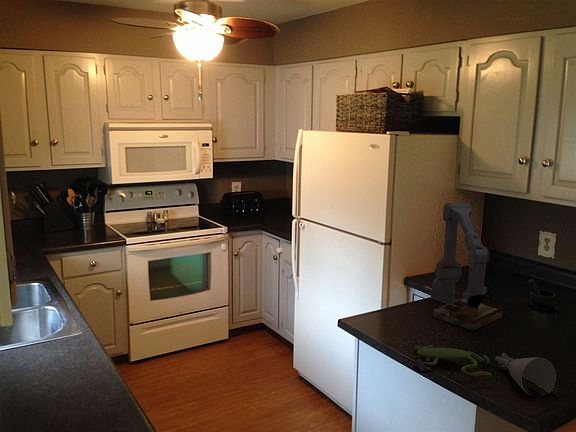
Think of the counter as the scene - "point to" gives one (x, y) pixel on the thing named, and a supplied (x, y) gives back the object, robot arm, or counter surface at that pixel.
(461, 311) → the block
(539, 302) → the mortar and pestle
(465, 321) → the trap board
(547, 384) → the rocket engine
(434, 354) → the figurine
